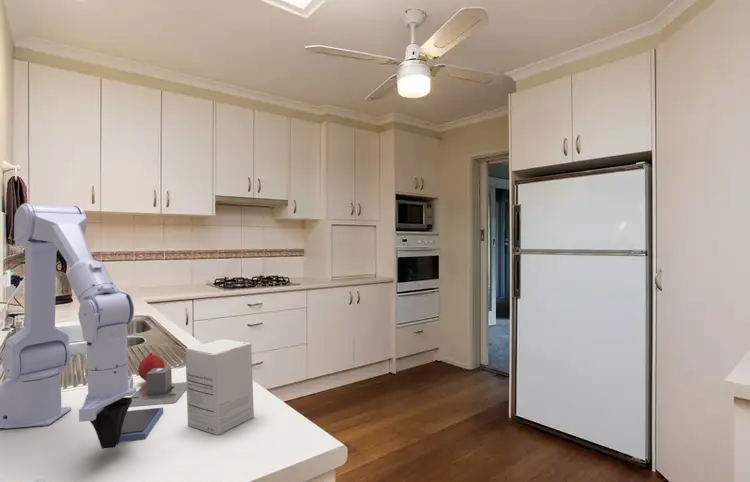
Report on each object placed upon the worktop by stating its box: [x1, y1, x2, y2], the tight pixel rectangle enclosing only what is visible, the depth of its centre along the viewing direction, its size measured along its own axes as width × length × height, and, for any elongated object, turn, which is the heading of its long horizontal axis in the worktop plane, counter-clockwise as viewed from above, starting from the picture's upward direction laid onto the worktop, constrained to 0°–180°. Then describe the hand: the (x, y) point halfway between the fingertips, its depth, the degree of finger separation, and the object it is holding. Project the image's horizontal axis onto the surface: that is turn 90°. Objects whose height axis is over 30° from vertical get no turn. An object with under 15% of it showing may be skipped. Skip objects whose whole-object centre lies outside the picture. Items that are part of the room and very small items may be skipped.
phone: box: [119, 407, 164, 443], centre depth 80 cm, size 7×12×2 cm, turn 13°
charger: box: [145, 367, 173, 396], centre depth 95 cm, size 4×4×6 cm
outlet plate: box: [129, 381, 187, 408], centre depth 95 cm, size 10×10×1 cm
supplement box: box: [184, 338, 255, 436], centre depth 81 cm, size 9×9×15 cm
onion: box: [137, 351, 166, 382], centre depth 104 cm, size 6×6×8 cm
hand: (110, 446), depth 70 cm, fingers closed
